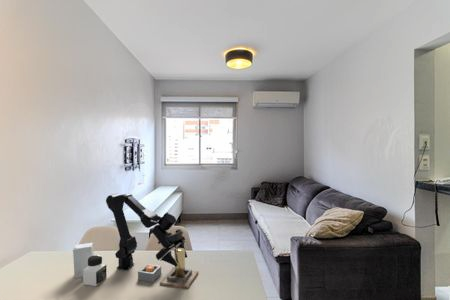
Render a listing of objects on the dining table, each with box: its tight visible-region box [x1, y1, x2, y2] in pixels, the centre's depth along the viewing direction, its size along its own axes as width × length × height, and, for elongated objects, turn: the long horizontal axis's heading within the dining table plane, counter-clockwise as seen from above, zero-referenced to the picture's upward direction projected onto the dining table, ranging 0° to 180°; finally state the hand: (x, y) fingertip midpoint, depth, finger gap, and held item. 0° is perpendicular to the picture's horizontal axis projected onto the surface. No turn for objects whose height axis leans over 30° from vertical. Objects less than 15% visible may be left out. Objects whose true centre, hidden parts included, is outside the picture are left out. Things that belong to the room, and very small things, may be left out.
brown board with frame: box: [159, 267, 199, 290], centre depth 121 cm, size 14×14×2 cm
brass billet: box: [173, 247, 186, 278], centre depth 120 cm, size 5×5×13 cm
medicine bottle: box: [82, 254, 107, 287], centre depth 118 cm, size 7×7×12 cm
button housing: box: [137, 263, 162, 283], centre depth 122 cm, size 8×8×4 cm
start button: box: [146, 264, 154, 272], centre depth 122 cm, size 4×4×3 cm
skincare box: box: [72, 242, 94, 279], centre depth 124 cm, size 8×6×15 cm
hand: (181, 261), depth 120 cm, fingers open, 9 cm apart
